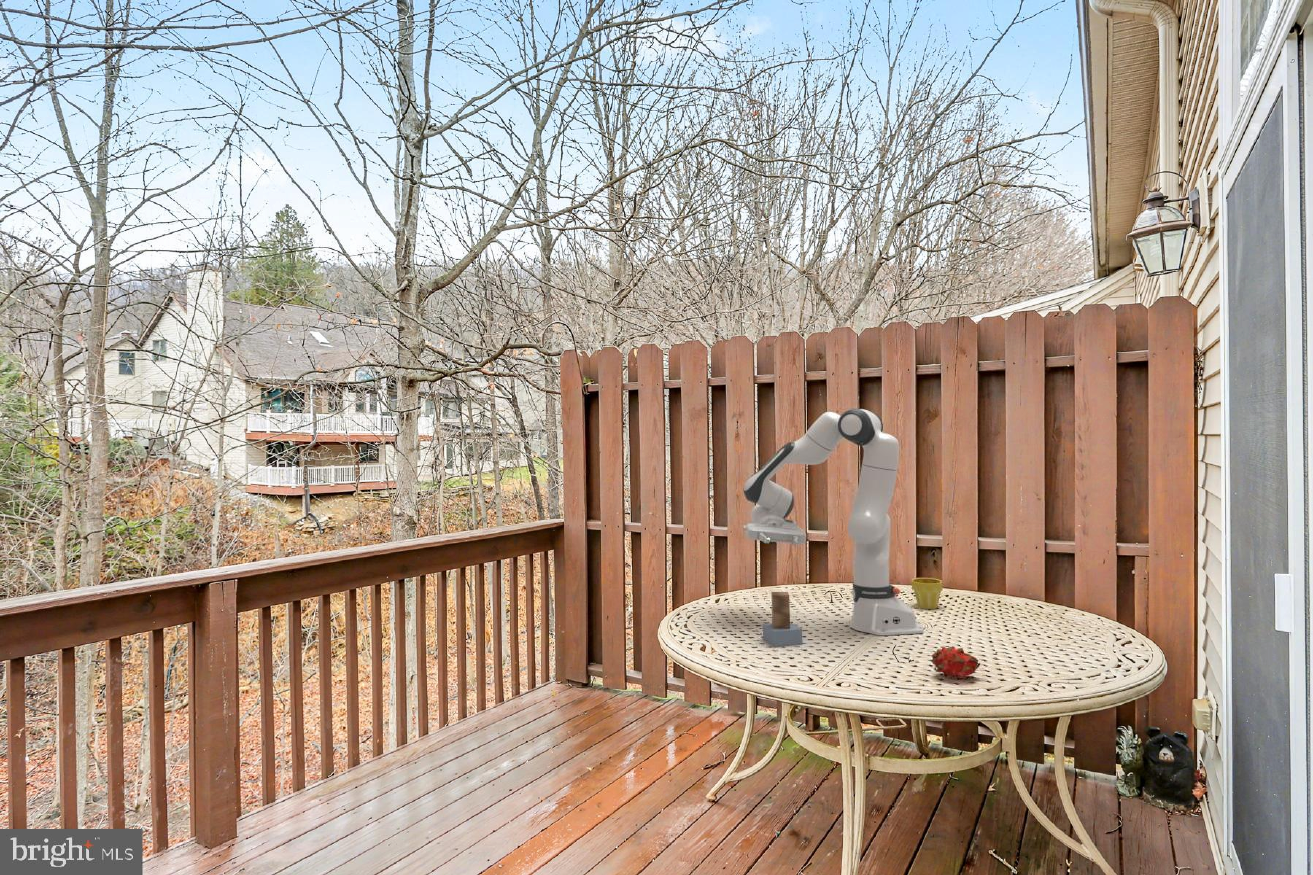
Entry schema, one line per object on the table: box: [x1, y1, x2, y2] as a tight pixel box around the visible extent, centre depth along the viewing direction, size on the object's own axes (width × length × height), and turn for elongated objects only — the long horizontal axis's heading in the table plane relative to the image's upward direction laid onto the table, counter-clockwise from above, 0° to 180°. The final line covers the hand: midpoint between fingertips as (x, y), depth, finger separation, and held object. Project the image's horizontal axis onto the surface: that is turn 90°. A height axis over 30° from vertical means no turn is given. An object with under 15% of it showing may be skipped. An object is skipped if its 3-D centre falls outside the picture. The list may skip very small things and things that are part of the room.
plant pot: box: [911, 577, 943, 610], centre depth 234 cm, size 10×10×10 cm
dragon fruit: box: [931, 646, 981, 681], centre depth 164 cm, size 8×8×12 cm
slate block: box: [762, 621, 803, 648], centre depth 197 cm, size 9×9×5 cm
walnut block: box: [771, 591, 791, 628], centre depth 197 cm, size 5×5×10 cm
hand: (781, 542), depth 209 cm, fingers open, 8 cm apart
